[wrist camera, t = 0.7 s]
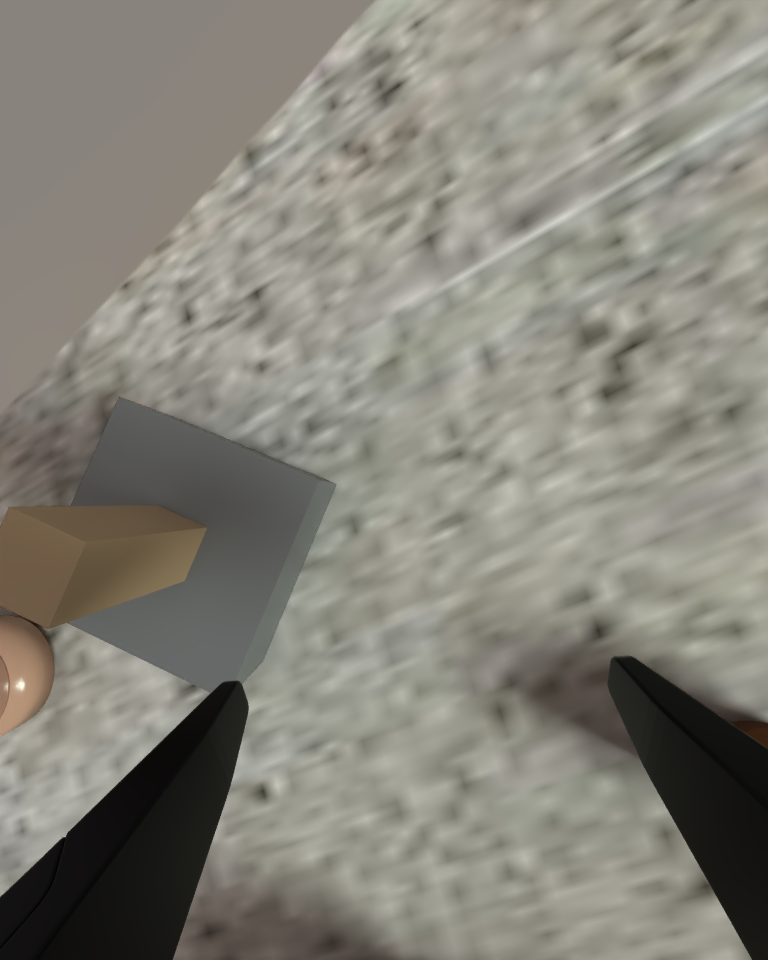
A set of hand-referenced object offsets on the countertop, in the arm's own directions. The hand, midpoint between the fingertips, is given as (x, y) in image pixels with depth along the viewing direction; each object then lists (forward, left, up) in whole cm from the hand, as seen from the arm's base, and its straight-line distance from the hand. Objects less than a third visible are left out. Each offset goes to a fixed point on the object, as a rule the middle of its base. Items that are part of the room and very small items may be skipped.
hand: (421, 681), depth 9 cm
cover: (-3, +13, -13) cm, 19 cm away
